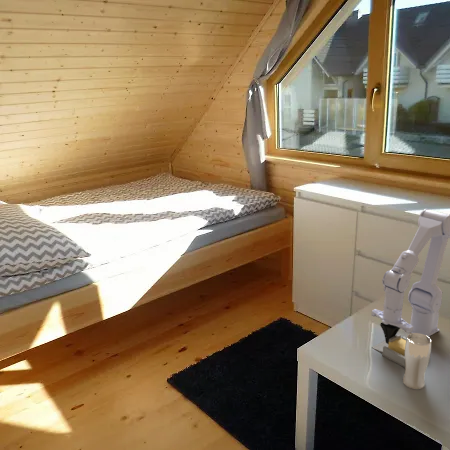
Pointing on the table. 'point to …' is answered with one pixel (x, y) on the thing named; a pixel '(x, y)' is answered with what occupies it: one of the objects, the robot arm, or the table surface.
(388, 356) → the dock
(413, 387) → the beer glass
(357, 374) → the table surface
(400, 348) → the toy bed
